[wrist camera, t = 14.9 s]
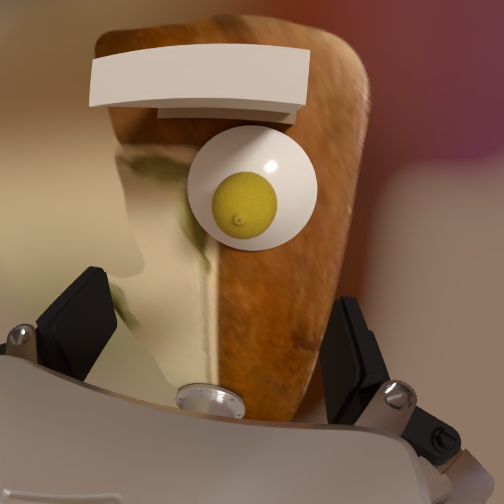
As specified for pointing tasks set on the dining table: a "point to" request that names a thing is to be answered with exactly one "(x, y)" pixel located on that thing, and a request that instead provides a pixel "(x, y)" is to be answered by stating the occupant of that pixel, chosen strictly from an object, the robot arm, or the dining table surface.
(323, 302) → the dining table surface
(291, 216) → the white round disc
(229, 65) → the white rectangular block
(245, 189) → the lemon
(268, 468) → the robot arm
